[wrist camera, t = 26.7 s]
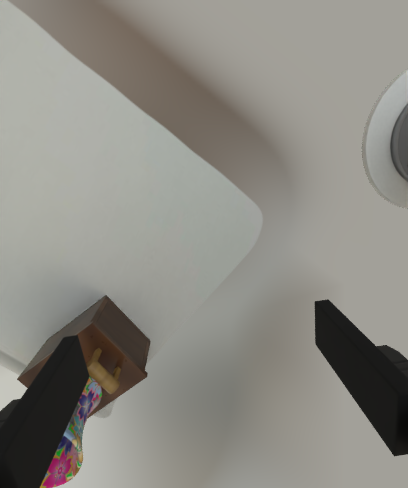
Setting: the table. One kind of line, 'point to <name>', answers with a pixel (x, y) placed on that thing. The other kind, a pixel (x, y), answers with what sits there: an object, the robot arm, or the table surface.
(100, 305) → the chest
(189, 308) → the table surface
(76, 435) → the floral cup
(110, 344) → the lid
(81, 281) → the table surface
